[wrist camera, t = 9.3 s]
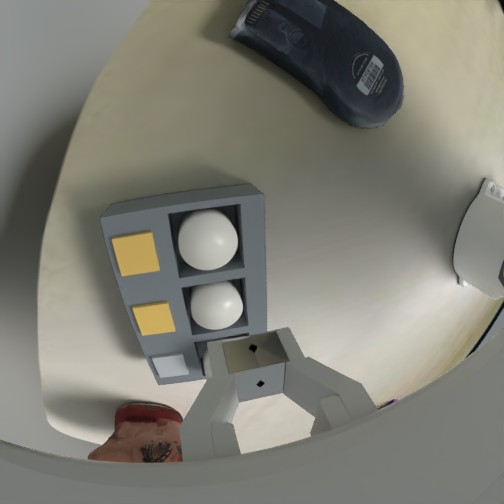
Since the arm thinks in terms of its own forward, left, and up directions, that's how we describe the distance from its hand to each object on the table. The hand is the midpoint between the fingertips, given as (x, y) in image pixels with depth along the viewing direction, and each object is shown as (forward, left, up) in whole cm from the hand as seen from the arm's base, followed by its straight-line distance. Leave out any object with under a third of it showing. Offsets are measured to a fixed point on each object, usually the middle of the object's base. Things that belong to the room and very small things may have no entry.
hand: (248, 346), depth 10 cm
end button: (0, 0, -12) cm, 12 cm away
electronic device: (-11, -14, -14) cm, 23 cm away
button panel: (+2, +6, -14) cm, 15 cm away
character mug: (+11, +27, -14) cm, 32 cm away
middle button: (0, +6, -12) cm, 14 cm away
